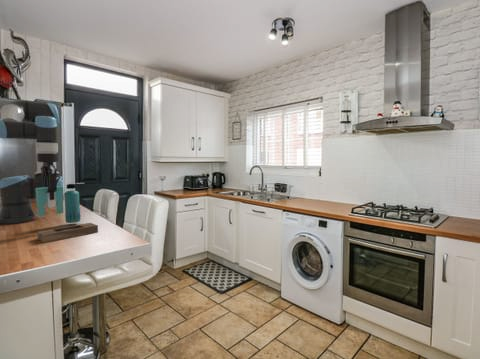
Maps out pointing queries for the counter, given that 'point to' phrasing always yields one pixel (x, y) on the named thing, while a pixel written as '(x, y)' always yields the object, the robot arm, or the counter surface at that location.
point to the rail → (67, 232)
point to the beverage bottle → (72, 205)
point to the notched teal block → (42, 197)
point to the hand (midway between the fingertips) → (50, 206)
